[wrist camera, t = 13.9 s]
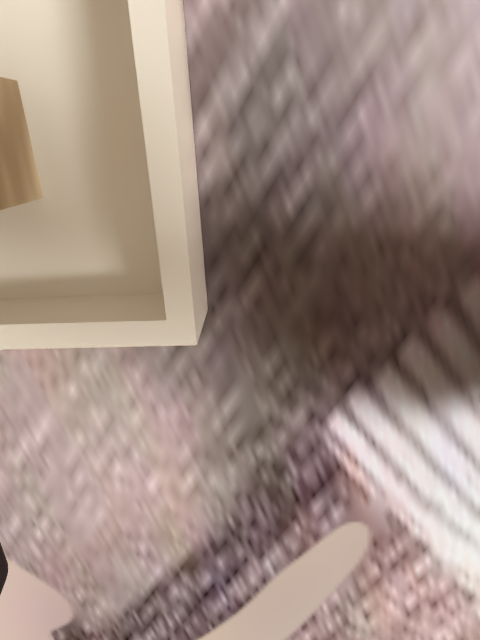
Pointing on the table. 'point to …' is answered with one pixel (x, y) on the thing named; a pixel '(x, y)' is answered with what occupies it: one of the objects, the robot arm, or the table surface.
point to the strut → (15, 150)
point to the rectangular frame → (102, 178)
